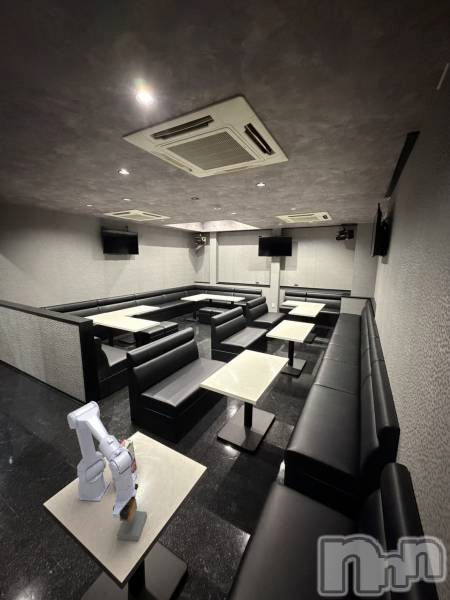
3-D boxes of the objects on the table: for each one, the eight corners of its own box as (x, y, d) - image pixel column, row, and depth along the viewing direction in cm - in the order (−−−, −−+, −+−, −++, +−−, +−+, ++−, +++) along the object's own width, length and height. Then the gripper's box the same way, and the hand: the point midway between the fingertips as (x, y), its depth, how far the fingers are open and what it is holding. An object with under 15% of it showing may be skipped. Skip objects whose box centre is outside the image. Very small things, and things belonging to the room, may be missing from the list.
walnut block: (120, 520, 87) (118, 510, 86) (126, 507, 92) (124, 497, 91) (132, 521, 87) (130, 511, 86) (137, 508, 91) (135, 498, 90)
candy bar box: (127, 466, 117) (123, 438, 113) (137, 467, 116) (133, 440, 112) (113, 488, 106) (108, 458, 102) (123, 490, 105) (118, 460, 101)
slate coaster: (117, 540, 88) (116, 534, 87) (128, 516, 96) (127, 510, 95) (138, 541, 87) (137, 535, 87) (147, 517, 95) (146, 511, 94)
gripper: (124, 504, 79) (129, 534, 82) (143, 464, 93) (146, 491, 96) (104, 503, 79) (110, 533, 82) (125, 463, 93) (129, 490, 96)
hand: (128, 510), depth 89 cm, fingers closed on walnut block, 4 cm apart
